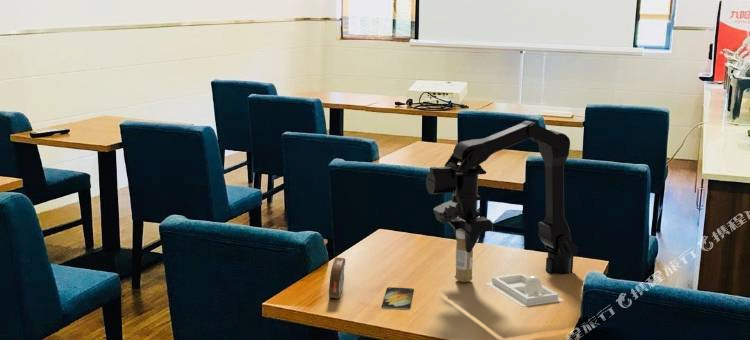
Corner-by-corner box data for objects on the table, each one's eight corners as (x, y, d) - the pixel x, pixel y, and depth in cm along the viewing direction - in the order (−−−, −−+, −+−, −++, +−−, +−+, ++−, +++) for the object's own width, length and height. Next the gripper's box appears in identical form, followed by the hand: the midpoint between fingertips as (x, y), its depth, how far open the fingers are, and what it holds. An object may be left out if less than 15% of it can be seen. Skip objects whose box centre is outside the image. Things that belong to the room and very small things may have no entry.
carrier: (525, 281, 226) (526, 272, 226) (564, 304, 210) (564, 294, 210) (485, 286, 222) (486, 277, 222) (522, 310, 206) (522, 300, 205)
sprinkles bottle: (475, 280, 222) (477, 230, 219) (462, 283, 219) (463, 233, 217) (464, 275, 226) (466, 226, 223) (451, 278, 223) (452, 229, 220)
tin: (334, 283, 224) (334, 252, 222) (346, 283, 224) (346, 252, 222) (327, 303, 209) (327, 270, 207) (340, 303, 209) (340, 271, 207)
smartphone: (414, 288, 220) (410, 308, 205) (414, 290, 220) (410, 311, 205) (386, 286, 221) (380, 307, 206) (386, 289, 221) (380, 309, 206)
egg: (535, 292, 215) (536, 272, 214) (545, 298, 211) (546, 277, 210) (520, 294, 213) (521, 274, 212) (529, 300, 209) (530, 279, 208)
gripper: (422, 186, 223) (421, 243, 226) (454, 202, 206) (453, 263, 210) (460, 183, 227) (458, 239, 231) (495, 198, 210) (492, 258, 214)
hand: (464, 249), depth 221 cm, fingers closed on sprinkles bottle, 4 cm apart
